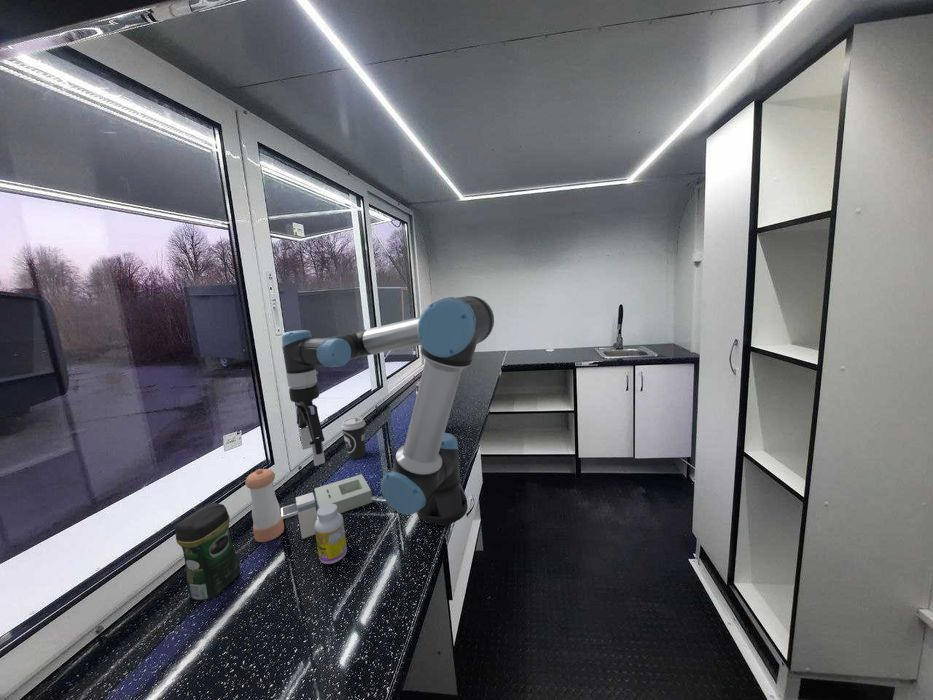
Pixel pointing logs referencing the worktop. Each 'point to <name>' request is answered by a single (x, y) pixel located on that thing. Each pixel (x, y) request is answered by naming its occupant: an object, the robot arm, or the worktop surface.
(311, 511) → the block
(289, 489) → the worktop surface
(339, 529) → the supplement bottle
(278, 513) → the pepper shaker
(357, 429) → the coffee cup
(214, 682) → the worktop surface
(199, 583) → the coffee jar
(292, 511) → the phone
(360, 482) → the outlet plate
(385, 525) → the worktop surface
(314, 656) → the worktop surface
